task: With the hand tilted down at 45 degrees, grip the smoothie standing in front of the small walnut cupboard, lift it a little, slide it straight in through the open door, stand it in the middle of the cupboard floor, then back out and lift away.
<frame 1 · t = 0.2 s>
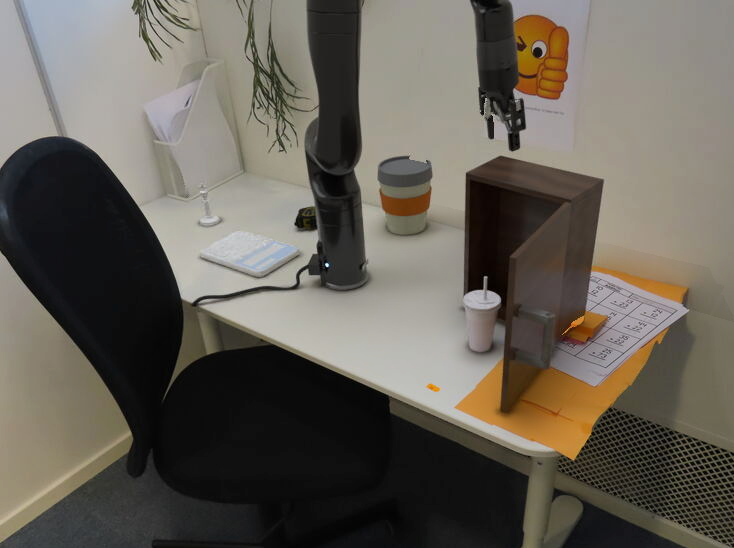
hand: (504, 143, 139), 23 cm above the table, tool pointing down, fingers open, 8 cm apart
reusable coffee cup: (406, 227, 163), on the table
chess piece: (210, 222, 173), on the table
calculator: (250, 256, 156), on the table
smoothie: (480, 347, 121), on the table
cupboard: (522, 315, 128), on the table
cupboard door: (551, 312, 104), point 14 cm above the table, hinge at 100.0°
tape measure: (308, 226, 167), on the table
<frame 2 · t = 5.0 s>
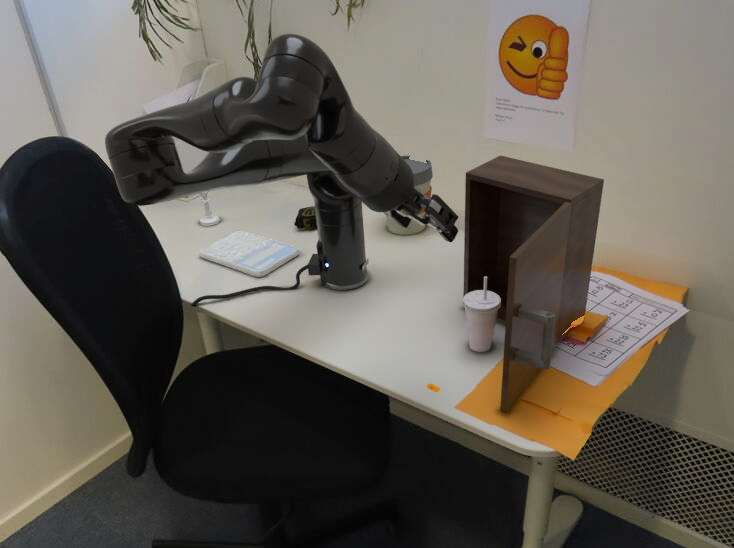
hand: (430, 229, 99), 27 cm above the table, tool tilted 40°, fingers open, 8 cm apart
nothing on the table moved.
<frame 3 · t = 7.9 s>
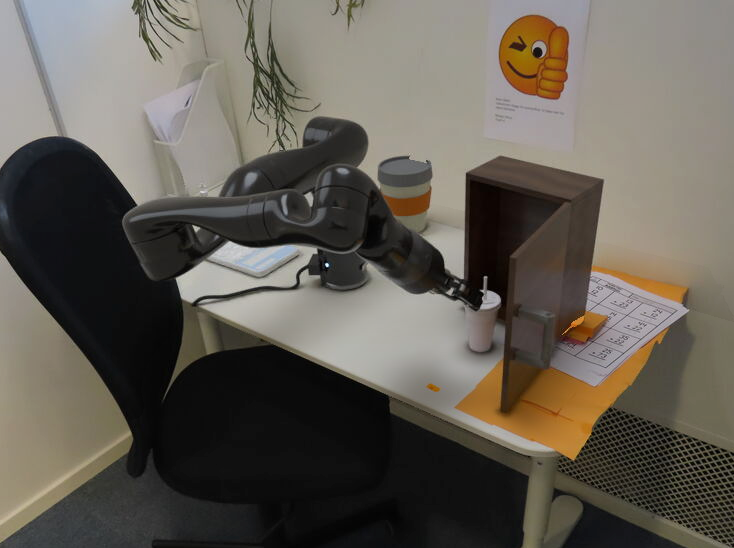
hand: (456, 296, 110), 13 cm above the table, tool tilted 45°, fingers open, 8 cm apart
nothing on the table moved.
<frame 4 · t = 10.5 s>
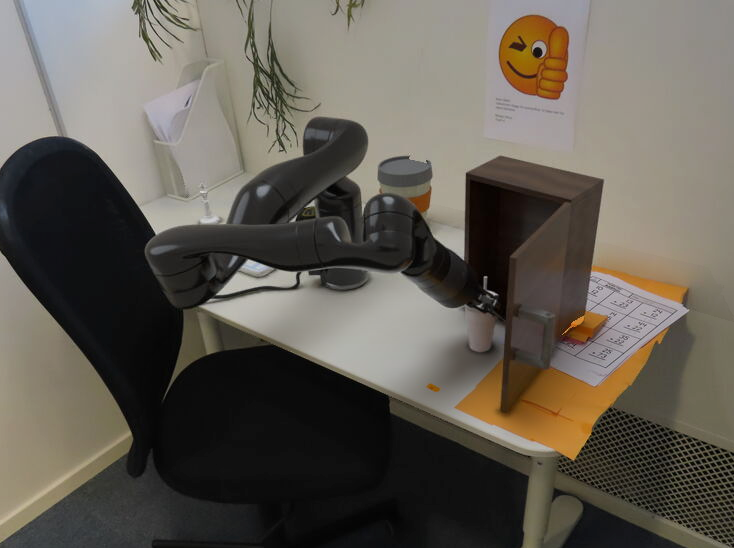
hand: (487, 309, 118), 7 cm above the table, tool tilted 45°, fingers closed on smoothie, 6 cm apart
smoothie: (480, 347, 121), on the table, touching gripper
everything else where it was.
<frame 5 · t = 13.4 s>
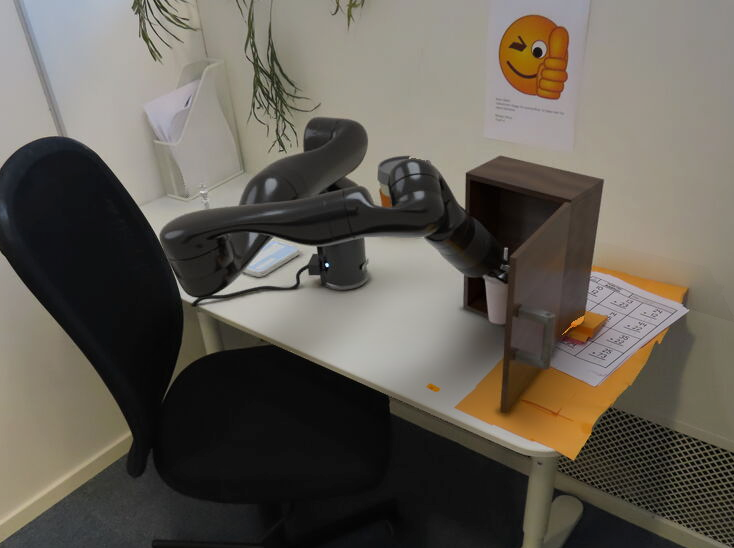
hand: (506, 282, 120), 10 cm above the table, tool tilted 45°, fingers closed on smoothie, 6 cm apart
smoothie: (499, 319, 123), point 3 cm above the table, touching gripper
everything else where it was.
when the fingers open (8 cm above the table, at t = 16.1 s): smoothie stays where it is, resting on cupboard.
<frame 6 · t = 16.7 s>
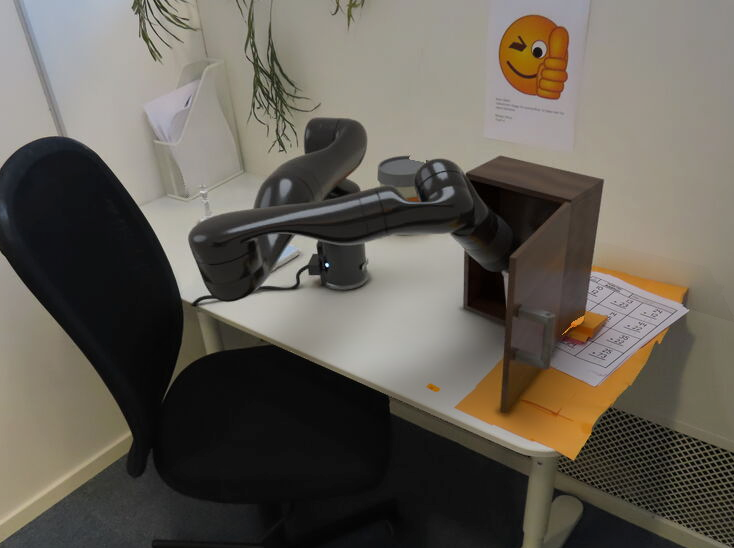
hand: (524, 275, 123), 8 cm above the table, tool tilted 45°, fingers open, 8 cm apart
smoothie: (516, 315, 127), point 1 cm above the table, touching cupboard
everything else where it was.
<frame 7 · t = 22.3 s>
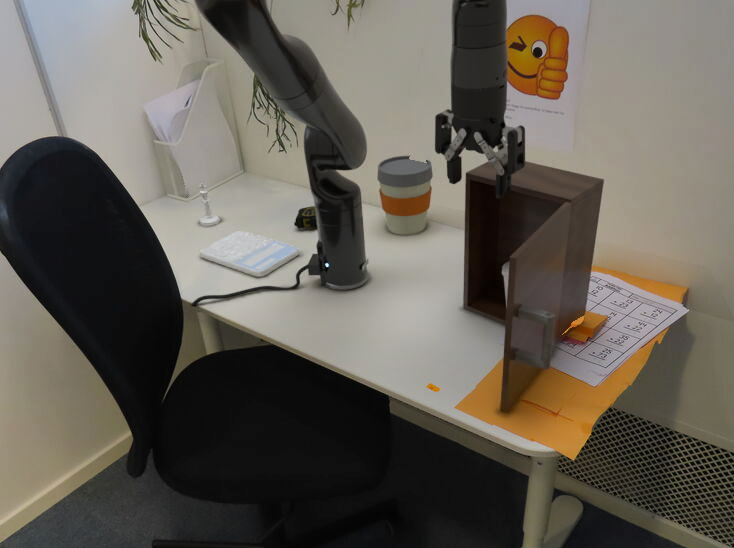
hand: (478, 189, 102), 30 cm above the table, tool pointing down, fingers open, 8 cm apart
nothing on the table moved.
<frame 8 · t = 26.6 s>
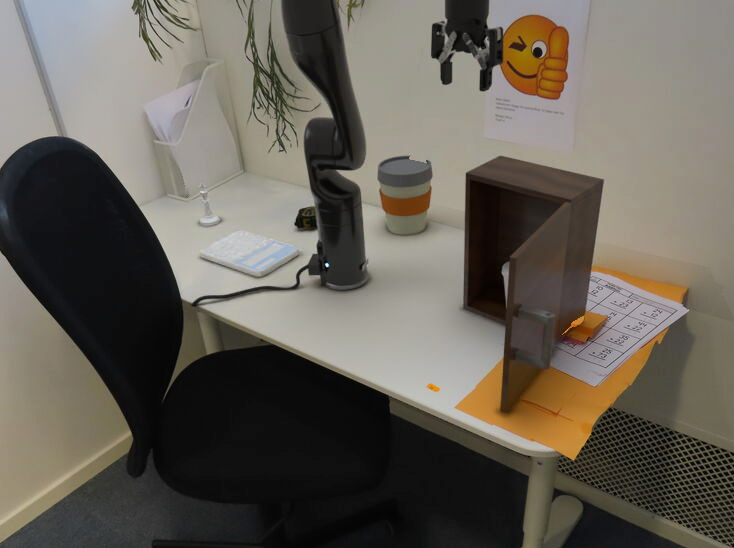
hand: (465, 87, 125), 36 cm above the table, tool pointing down, fingers open, 8 cm apart
nothing on the table moved.
at the end: smoothie 1.7 cm from the cupboard (horizontally); smoothie inside the target area (1.7 cm from its centre), point 0.8 cm above the table; smoothie tilted 0° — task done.
